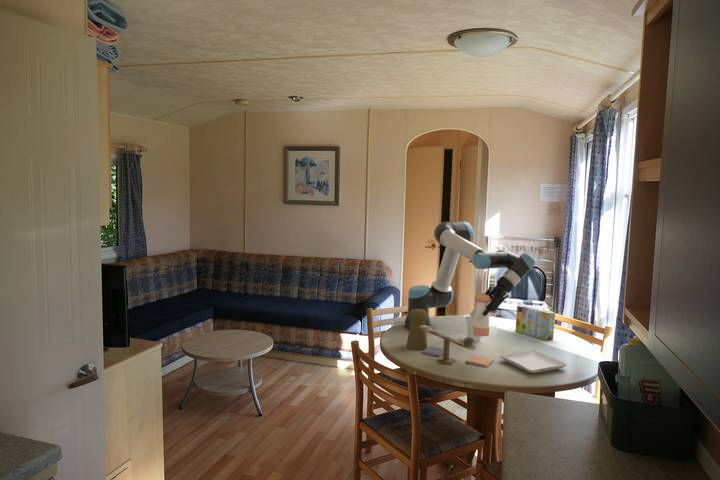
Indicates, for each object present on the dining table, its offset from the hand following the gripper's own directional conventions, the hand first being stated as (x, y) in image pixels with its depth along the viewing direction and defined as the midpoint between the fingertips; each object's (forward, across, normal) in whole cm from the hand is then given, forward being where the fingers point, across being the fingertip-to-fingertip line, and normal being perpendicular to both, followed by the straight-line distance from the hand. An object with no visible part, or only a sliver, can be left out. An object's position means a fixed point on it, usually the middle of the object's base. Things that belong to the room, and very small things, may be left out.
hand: (474, 318), depth 223 cm
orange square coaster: (+12, 0, +17) cm, 21 cm away
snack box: (-25, -34, +54) cm, 68 cm away
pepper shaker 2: (+3, 0, +8) cm, 9 cm away
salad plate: (-3, +9, +33) cm, 34 cm away
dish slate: (+22, -16, +7) cm, 28 cm away
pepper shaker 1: (+27, -26, +3) cm, 37 cm away
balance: (+23, -4, +6) cm, 24 cm away
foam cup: (+2, -32, +28) cm, 42 cm away
